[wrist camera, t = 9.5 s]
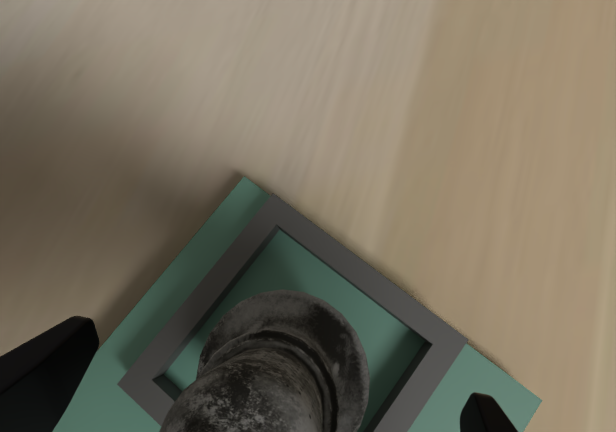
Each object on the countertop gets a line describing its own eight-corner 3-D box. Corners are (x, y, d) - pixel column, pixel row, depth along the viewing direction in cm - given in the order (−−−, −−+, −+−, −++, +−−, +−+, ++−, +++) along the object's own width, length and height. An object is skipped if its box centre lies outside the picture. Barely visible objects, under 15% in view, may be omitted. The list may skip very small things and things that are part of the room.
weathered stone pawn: (205, 415, 16) (-128, 728, 4) (245, 277, 17) (71, 223, 5) (342, 456, 15) (399, 954, 4) (373, 311, 16) (489, 330, 5)
